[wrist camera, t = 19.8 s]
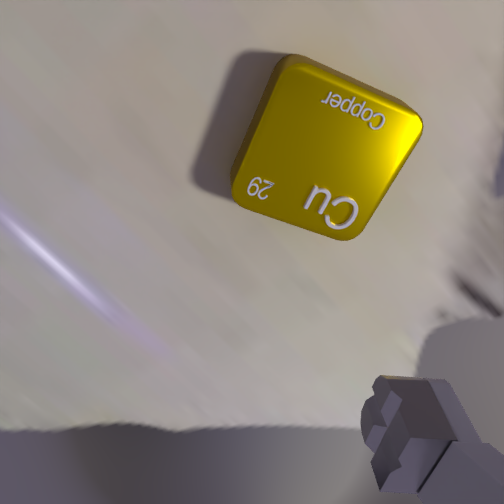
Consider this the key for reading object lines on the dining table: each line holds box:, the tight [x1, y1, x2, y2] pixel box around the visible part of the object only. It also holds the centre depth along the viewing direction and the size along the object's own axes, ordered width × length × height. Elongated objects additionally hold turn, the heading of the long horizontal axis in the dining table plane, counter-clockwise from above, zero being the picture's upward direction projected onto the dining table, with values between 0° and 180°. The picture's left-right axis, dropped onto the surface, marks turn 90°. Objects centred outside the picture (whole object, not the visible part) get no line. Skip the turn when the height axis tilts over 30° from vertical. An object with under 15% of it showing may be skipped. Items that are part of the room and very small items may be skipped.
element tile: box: [230, 54, 423, 241], centre depth 47 cm, size 15×15×5 cm
